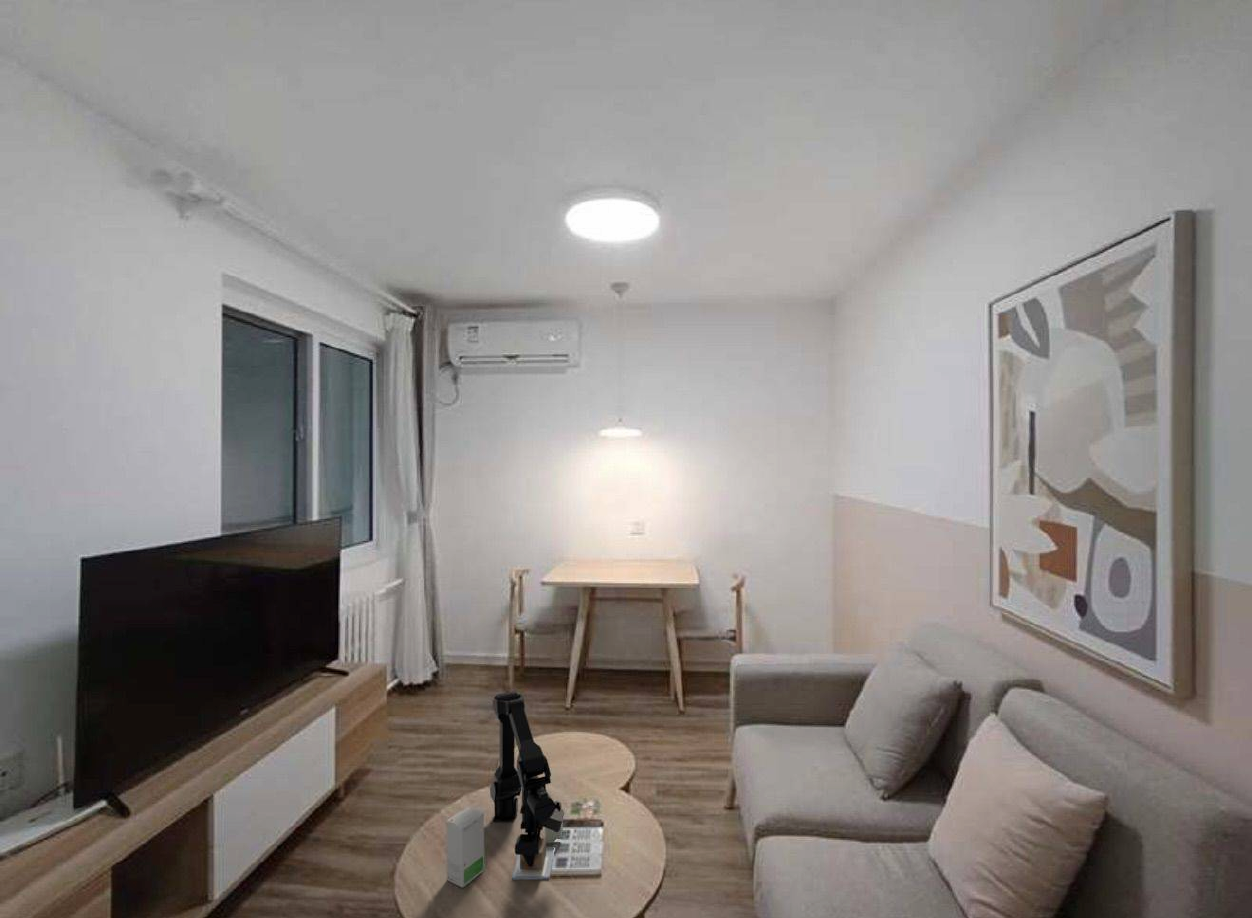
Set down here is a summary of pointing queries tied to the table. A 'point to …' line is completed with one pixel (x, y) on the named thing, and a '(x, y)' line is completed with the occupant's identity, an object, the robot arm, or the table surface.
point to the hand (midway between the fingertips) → (533, 858)
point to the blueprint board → (535, 873)
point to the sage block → (553, 834)
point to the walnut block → (538, 858)
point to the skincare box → (465, 846)
